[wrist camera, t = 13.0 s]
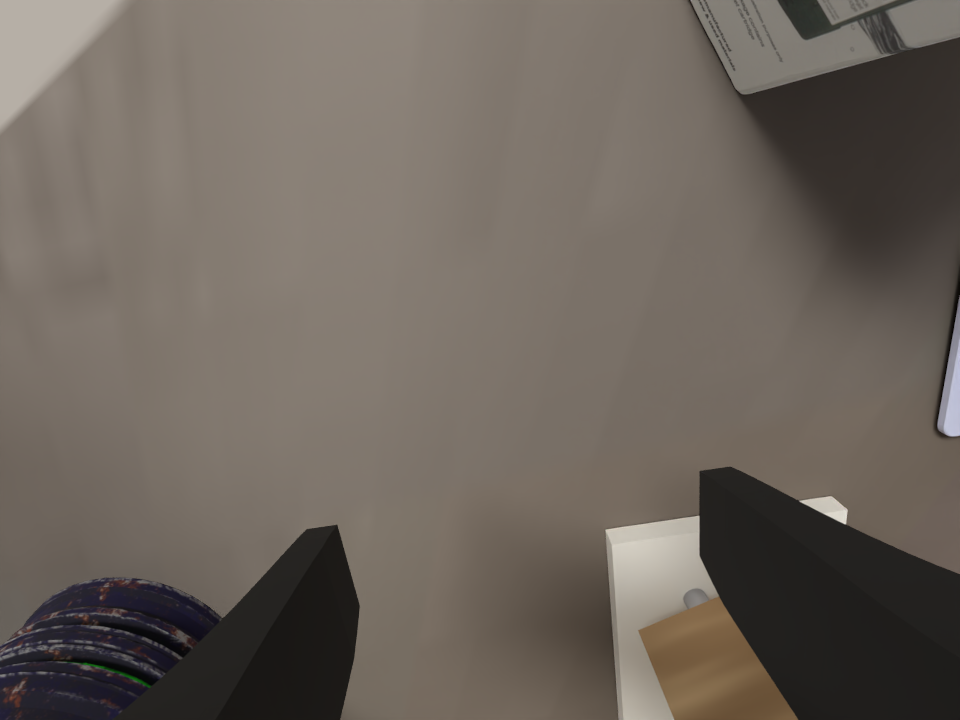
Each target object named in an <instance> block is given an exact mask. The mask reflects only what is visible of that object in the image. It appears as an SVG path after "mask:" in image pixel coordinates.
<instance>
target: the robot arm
mask: <svg viewBox="0 0 960 720" xmlns="http://www.w3.org/2000/svg"><path fill="white" fill-rule="evenodd" d="M937 426H938V430H939V431H940V432H942V433H944V434H946V435H948V436H953V437H954V436H960V297H959V303H958V308H957V314H956V320H955V326H954V332H953V337H952V343H951V349H950V355H949V360H948V366H947V372H946V378H945V383H944V389H943V395H942V401H941V406H940V412H939V418H938V424H937ZM699 556H700V558H701V560H702V562H703V564H704V566H705V569H706V571H707V573H708V575H709V577H710V579H711V581H712V583H713V585H714V587H715V589H716V591H717V593H718V595H719V597H720V599H721V601H722V603H723V605H724V606H725V608H726V609H727V611H728V613H729V614H730V616H731V617H732V619H733V620H734V622H735V624H736V625H737V627H738V628H739V630H740V631H741V633H742V634H743V636H744V638H745V639H746V641H747V642H748V644H749V645H750V647H751V648H752V650H753V651H754V653H755V654H756V656H757V657H758V659H759V661H760V662H761V664H762V665H763V667H764V668H765V670H766V671H767V673H768V674H769V676H770V677H771V679H772V680H773V682H774V683H775V685H776V687H777V688H778V690H779V691H780V693H781V694H782V696H783V697H784V699H785V700H786V702H787V703H788V705H789V706H790V708H791V709H792V711H793V712H794V714H795V716H796V717H797V719H798V720H960V574H958V573H955V572H952V571H950V570H947V569H945V568H942V567H940V566H937V565H935V564H932V563H930V562H927V561H925V560H923V559H920V558H918V557H915V556H913V555H911V554H908V553H906V552H904V551H902V550H899V549H897V548H895V547H893V546H891V545H888V544H886V543H884V542H882V541H880V540H877V539H875V538H873V537H871V536H868V535H866V534H864V533H862V532H860V531H858V530H856V529H854V528H852V527H850V526H847V525H845V524H843V523H841V522H839V521H837V520H835V519H833V518H831V517H829V516H827V515H825V514H823V513H821V512H819V511H817V510H815V509H813V508H811V507H809V506H808V505H806V504H804V503H802V502H800V501H798V500H796V499H794V498H792V497H790V496H788V495H786V494H784V493H782V492H781V491H779V490H777V489H775V488H773V487H771V486H769V485H767V484H765V483H763V482H761V481H759V480H757V479H755V478H753V477H751V476H749V475H747V474H745V473H743V472H741V471H739V470H737V469H735V468H732V467H725V468H718V469H711V470H704V471H700V515H699ZM359 608H360V605H359V602H358V598H357V594H356V591H355V587H354V584H353V580H352V576H351V573H350V569H349V566H348V562H347V558H346V555H345V551H344V548H343V544H342V540H341V537H340V533H339V529H338V526H337V525H333V526H326V527H319V528H312V529H307V530H306V531H305V532H304V533H303V534H302V535H301V536H300V537H299V538H298V539H297V540H296V541H295V542H294V543H293V544H292V545H291V546H290V547H289V548H288V549H287V551H286V552H285V553H284V554H283V555H282V556H281V557H280V558H279V559H278V560H277V562H276V563H275V564H274V565H273V566H272V567H271V568H270V569H269V570H268V571H267V573H266V574H265V575H264V576H263V577H262V578H261V579H260V580H259V581H258V582H257V583H256V584H255V586H254V587H253V588H252V589H251V590H250V591H249V592H248V593H247V594H246V595H245V596H244V597H243V598H242V599H241V601H240V602H239V603H238V604H237V605H236V606H235V607H234V608H233V609H232V610H231V611H230V612H229V613H228V614H227V615H226V616H225V617H224V618H223V619H222V620H221V621H220V622H219V623H218V624H217V625H216V626H215V627H214V628H213V629H212V630H211V631H210V632H209V633H208V634H207V635H206V636H205V637H204V638H203V639H202V640H201V641H200V642H199V643H198V644H197V645H196V646H195V647H194V648H193V649H192V650H191V651H190V652H189V653H188V654H187V655H186V656H184V657H183V658H182V659H181V660H180V661H179V662H178V663H177V664H176V665H175V666H174V667H173V668H172V669H170V670H169V671H168V672H167V673H166V674H165V675H164V676H163V677H162V678H160V679H159V680H158V681H157V682H156V683H155V684H154V685H152V686H151V687H150V688H149V689H148V690H147V691H145V692H144V693H143V694H142V695H141V696H140V697H138V698H137V699H136V700H135V701H134V702H133V703H132V704H130V705H129V706H128V707H127V708H126V709H124V710H123V711H122V712H121V713H120V714H118V715H117V716H116V717H115V718H114V719H112V720H340V718H341V713H342V709H343V705H344V700H345V696H346V692H347V687H348V683H349V679H350V674H351V670H352V665H353V660H354V654H355V646H356V637H357V628H358V618H359Z"/></svg>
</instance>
